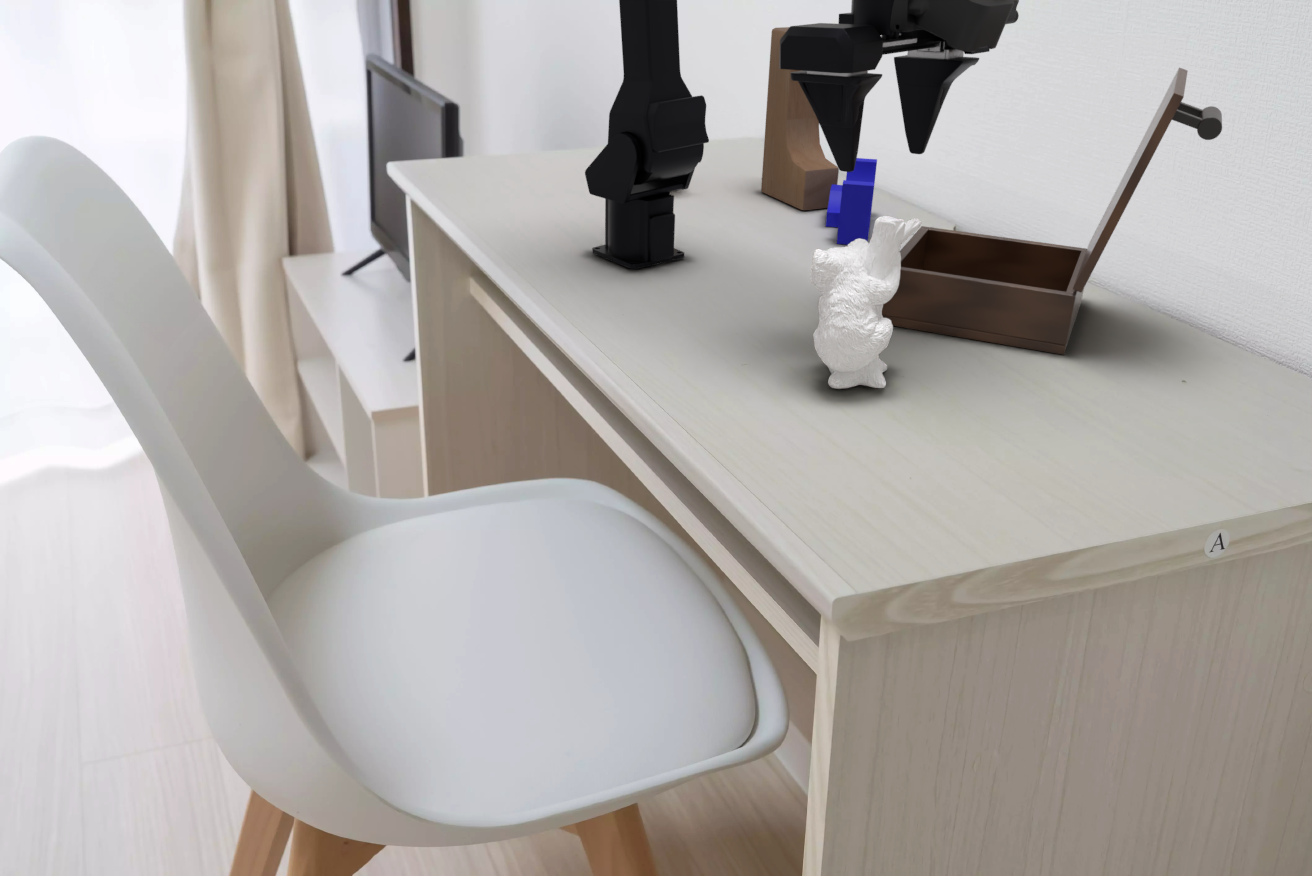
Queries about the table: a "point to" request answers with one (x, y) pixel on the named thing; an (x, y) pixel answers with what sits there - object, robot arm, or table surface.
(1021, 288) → the chest
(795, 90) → the wooden block
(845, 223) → the cable clip
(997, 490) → the table surface
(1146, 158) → the chest lid
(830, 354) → the white sculpted figure
